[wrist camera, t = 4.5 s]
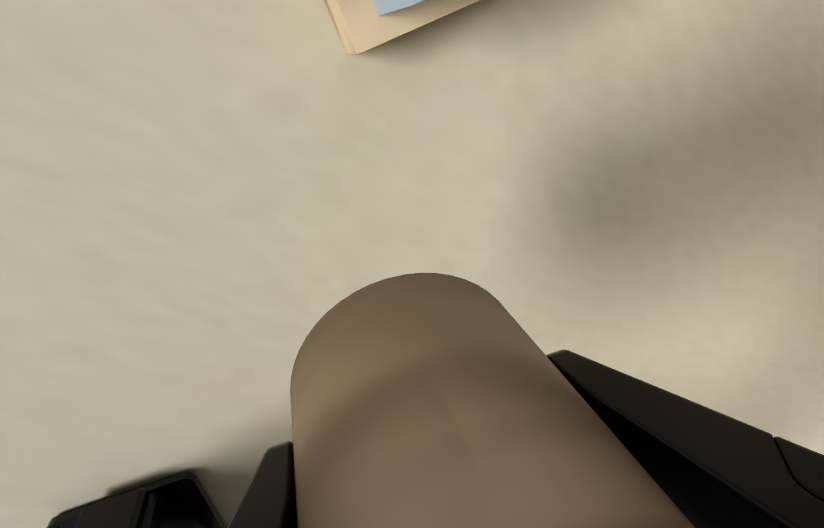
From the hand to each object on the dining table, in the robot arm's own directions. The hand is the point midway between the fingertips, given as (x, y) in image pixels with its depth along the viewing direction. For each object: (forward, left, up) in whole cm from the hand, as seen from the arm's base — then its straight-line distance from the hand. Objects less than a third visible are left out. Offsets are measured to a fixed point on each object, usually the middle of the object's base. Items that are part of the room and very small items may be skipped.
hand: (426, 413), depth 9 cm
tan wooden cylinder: (0, 0, -1) cm, 1 cm away
